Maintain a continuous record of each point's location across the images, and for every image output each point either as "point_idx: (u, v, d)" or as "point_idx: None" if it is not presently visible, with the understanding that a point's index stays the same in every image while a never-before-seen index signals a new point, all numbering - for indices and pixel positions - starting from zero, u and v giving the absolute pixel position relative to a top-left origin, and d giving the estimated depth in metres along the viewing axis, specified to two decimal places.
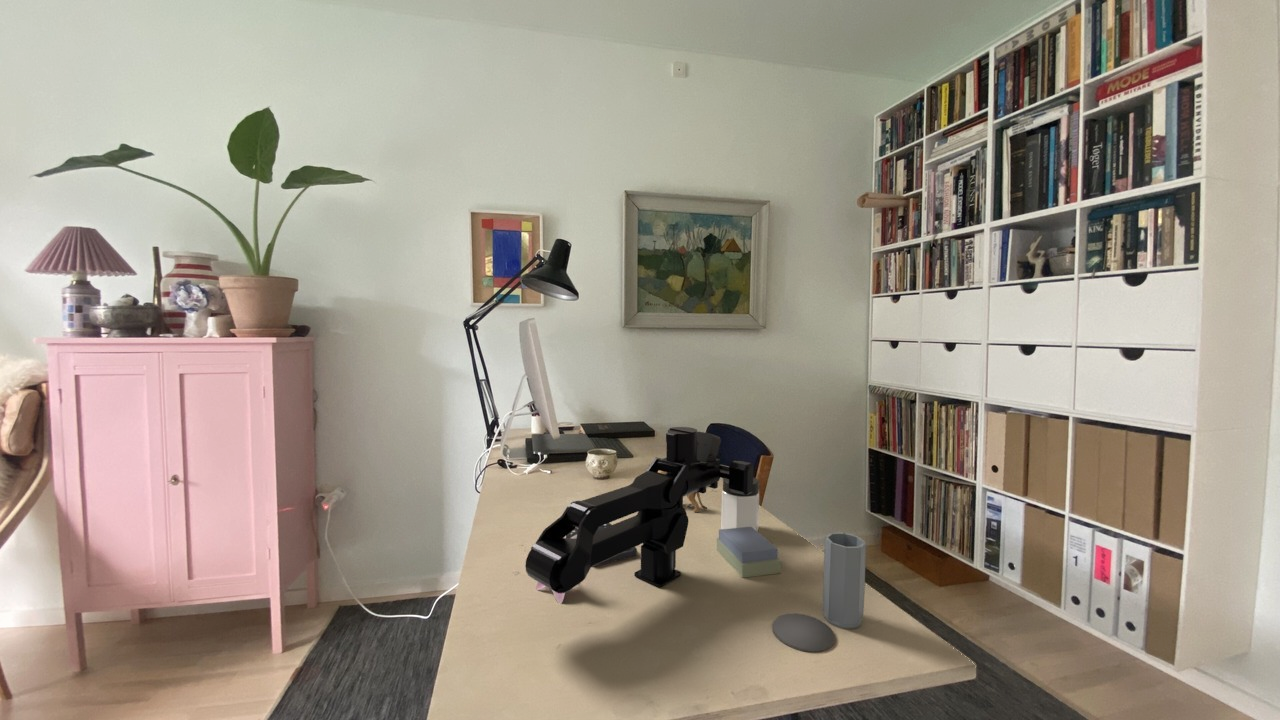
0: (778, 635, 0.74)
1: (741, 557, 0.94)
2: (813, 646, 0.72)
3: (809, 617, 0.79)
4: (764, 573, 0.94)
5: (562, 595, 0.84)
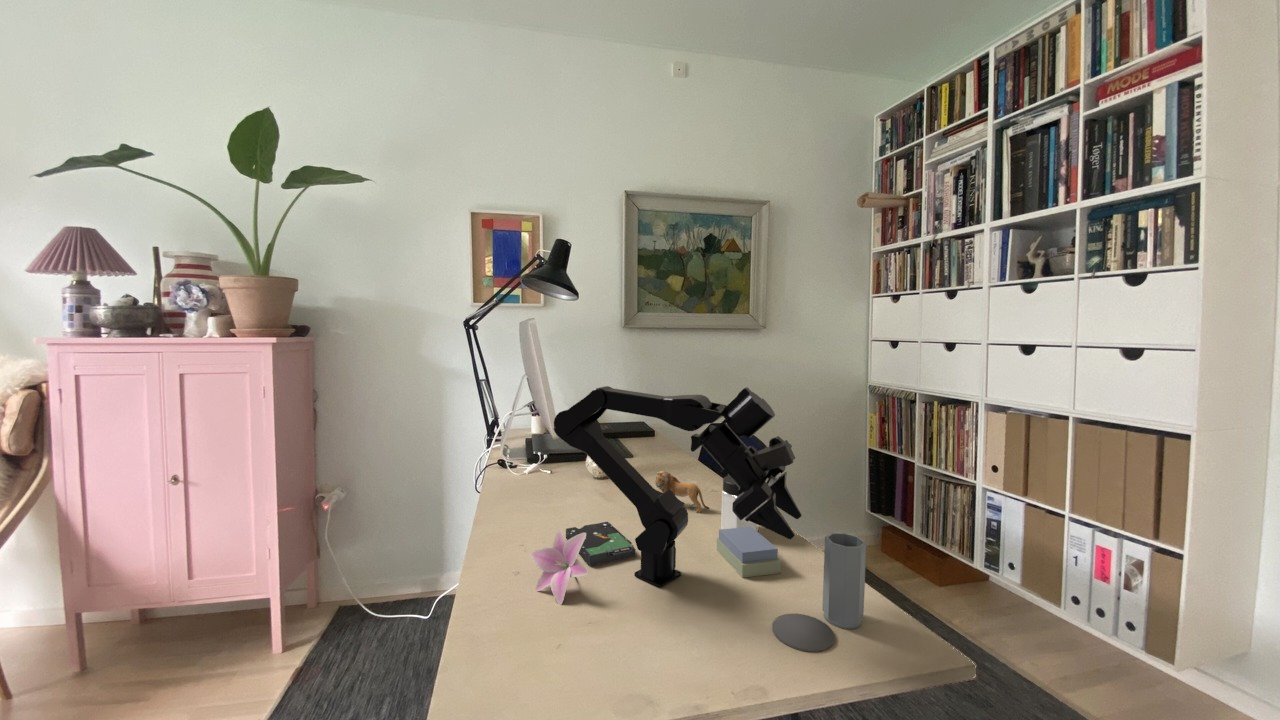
0: (778, 635, 0.74)
1: (741, 557, 0.94)
2: (813, 646, 0.72)
3: (809, 617, 0.79)
4: (764, 573, 0.94)
5: (562, 596, 0.84)
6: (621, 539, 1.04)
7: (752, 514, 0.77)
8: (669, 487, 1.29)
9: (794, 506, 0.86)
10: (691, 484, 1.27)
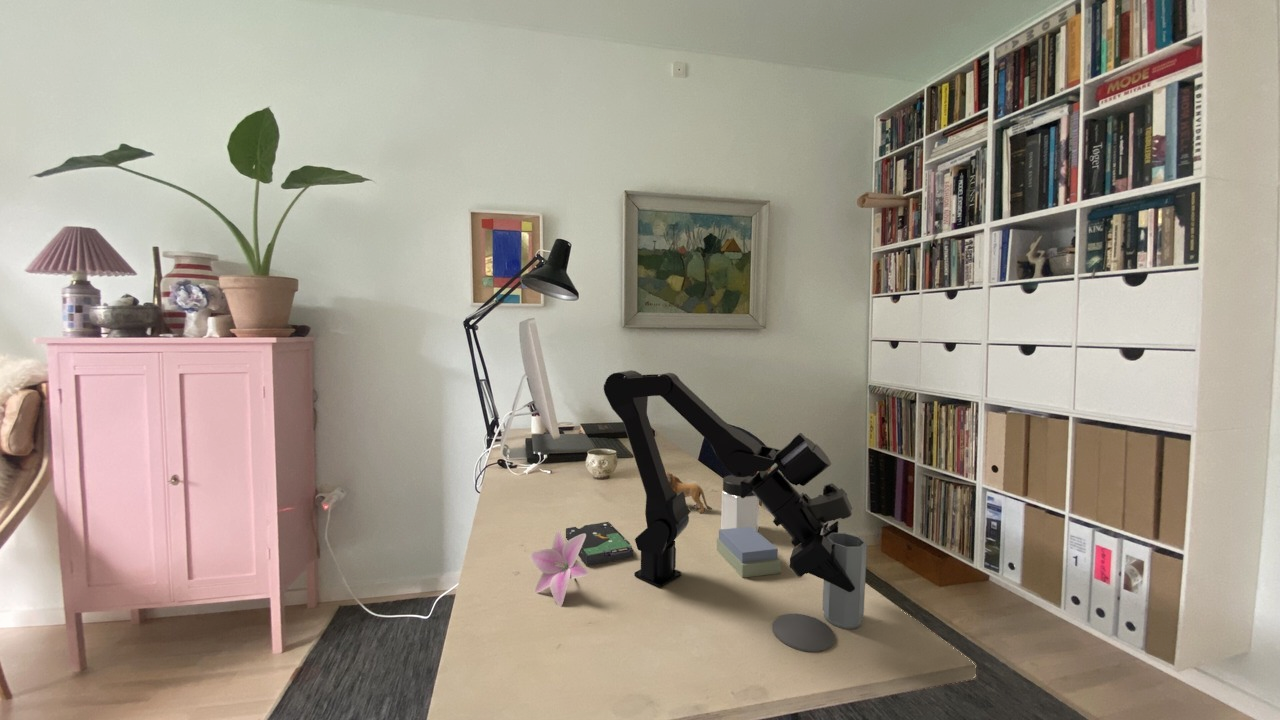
0: (778, 635, 0.74)
1: (741, 557, 0.94)
2: (813, 646, 0.72)
3: (809, 617, 0.79)
4: (764, 573, 0.94)
5: (562, 597, 0.83)
6: (620, 539, 1.04)
7: None
8: None
9: None
10: (693, 484, 1.27)
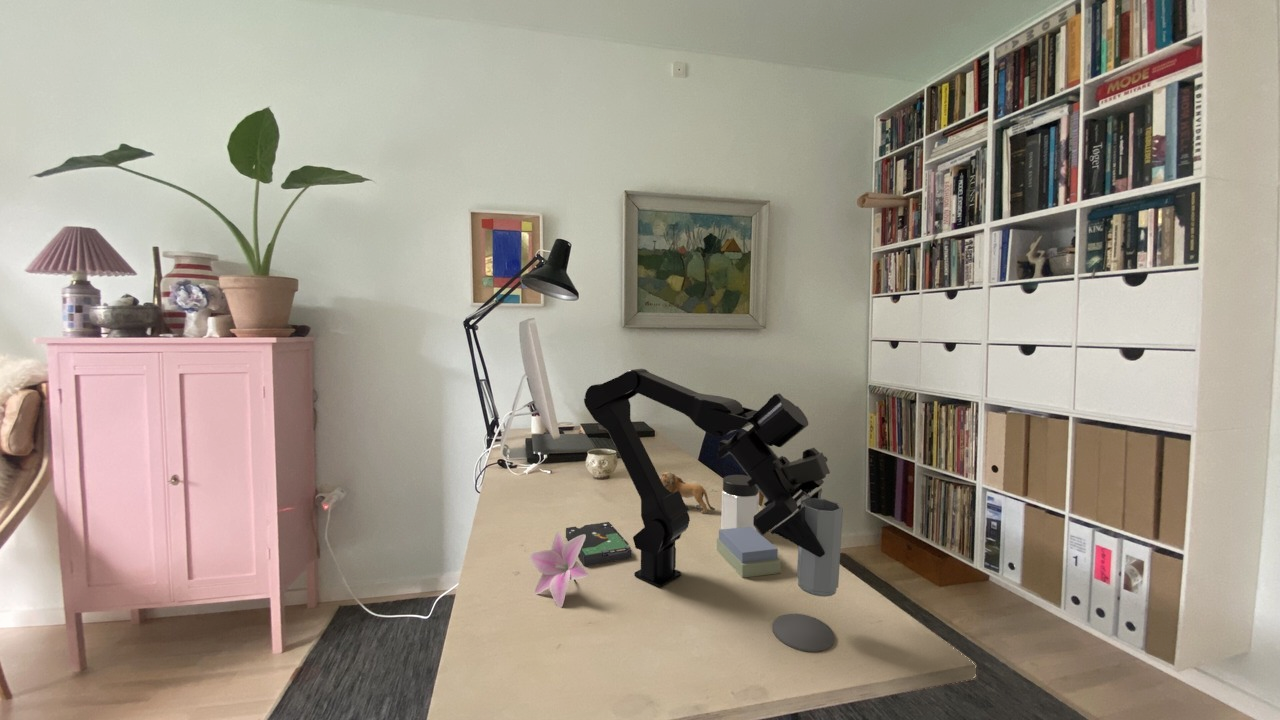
0: (778, 635, 0.74)
1: (741, 557, 0.94)
2: (813, 646, 0.72)
3: (809, 617, 0.79)
4: (764, 573, 0.94)
5: (562, 599, 0.83)
6: (619, 539, 1.04)
7: (777, 527, 0.73)
8: (674, 488, 1.28)
9: None
10: (696, 485, 1.26)
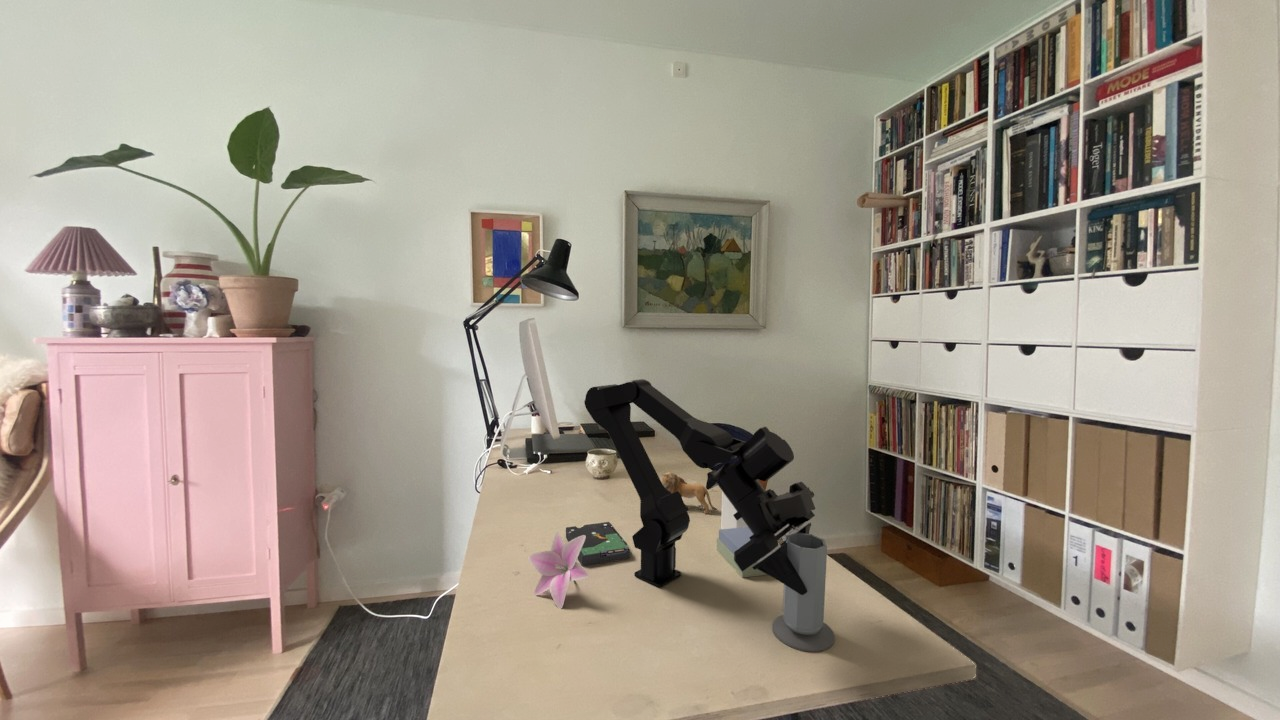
0: (778, 635, 0.74)
1: None
2: (813, 646, 0.72)
3: None
4: (764, 573, 0.94)
5: (562, 600, 0.82)
6: (618, 540, 1.04)
7: (759, 563, 0.73)
8: (676, 488, 1.28)
9: None
10: (698, 485, 1.26)
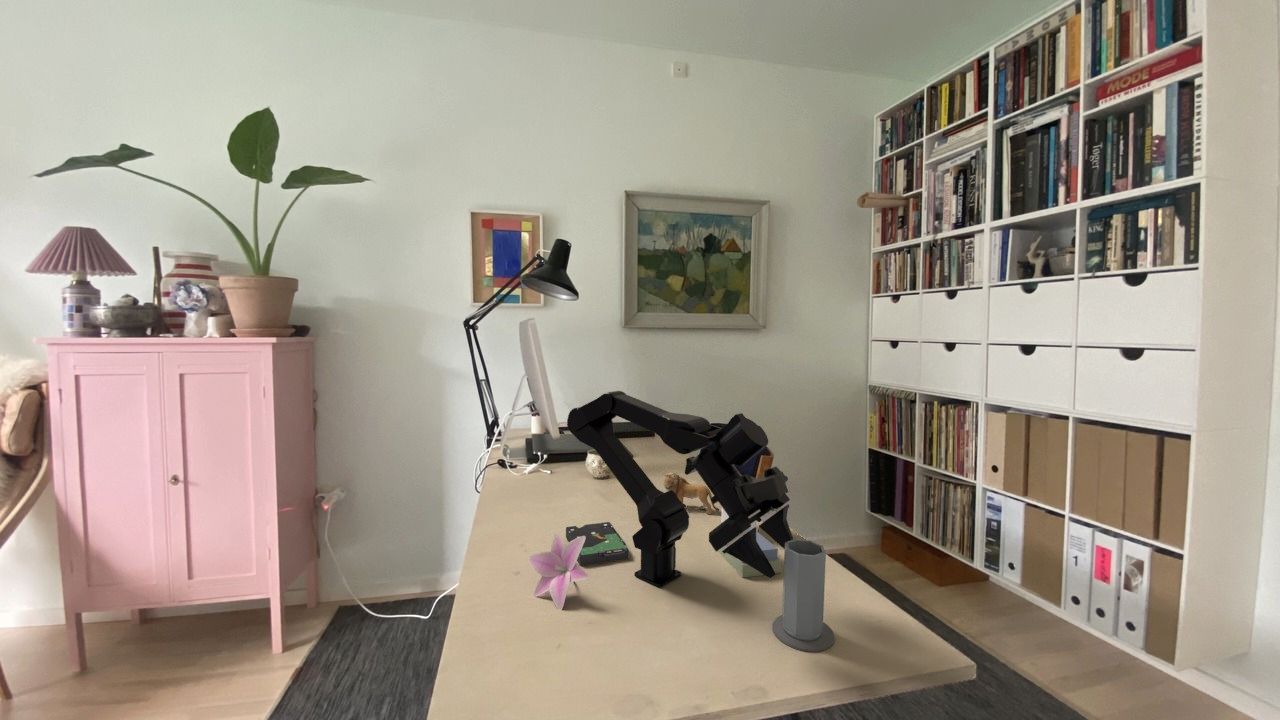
0: (778, 635, 0.74)
1: None
2: (813, 646, 0.72)
3: None
4: None
5: (562, 601, 0.82)
6: (617, 540, 1.04)
7: (728, 547, 0.74)
8: (678, 489, 1.27)
9: None
10: (701, 485, 1.26)
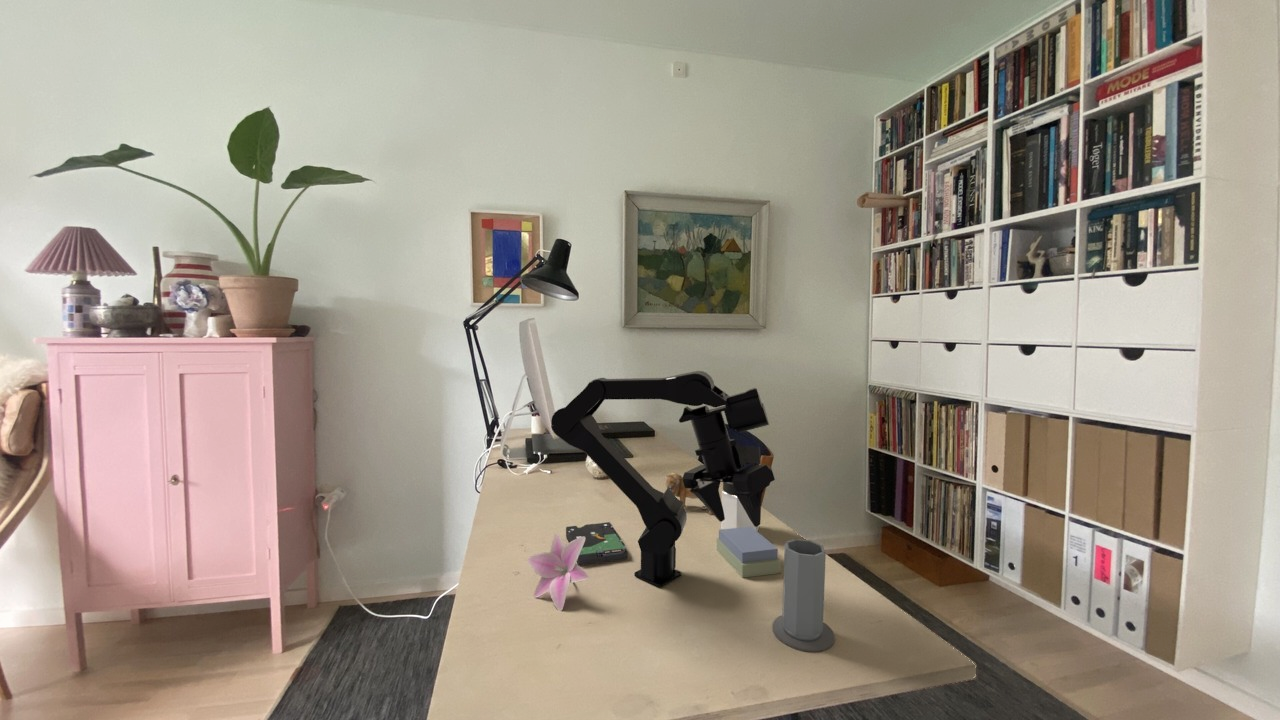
0: (778, 635, 0.74)
1: (741, 557, 0.94)
2: (813, 646, 0.72)
3: None
4: (764, 573, 0.94)
5: (562, 602, 0.82)
6: (616, 540, 1.04)
7: (755, 491, 0.81)
8: (680, 489, 1.27)
9: (722, 509, 0.93)
10: None
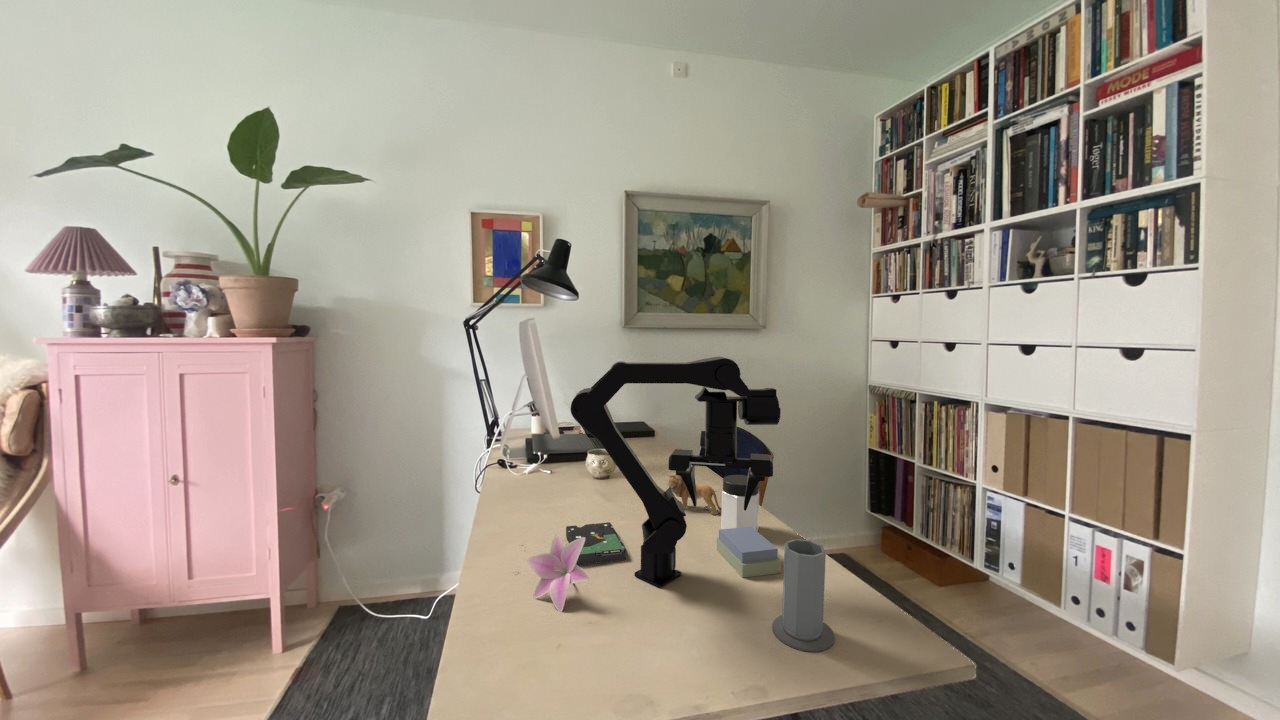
0: (778, 635, 0.74)
1: (741, 557, 0.94)
2: (813, 646, 0.72)
3: None
4: (764, 573, 0.94)
5: (562, 603, 0.82)
6: (615, 540, 1.04)
7: None
8: (682, 489, 1.27)
9: (696, 494, 0.94)
10: (705, 486, 1.26)
